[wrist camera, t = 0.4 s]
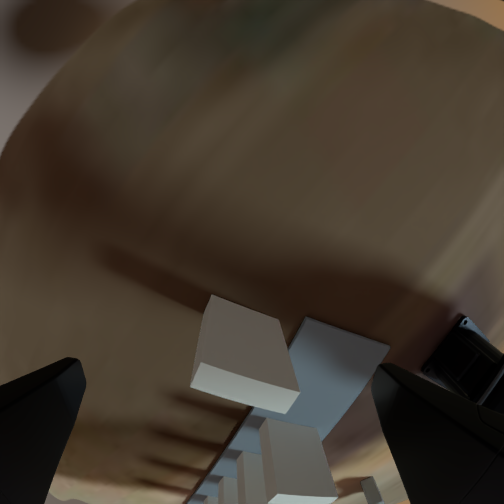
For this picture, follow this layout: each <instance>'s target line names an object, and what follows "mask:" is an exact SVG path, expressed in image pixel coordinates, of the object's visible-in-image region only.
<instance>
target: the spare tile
mask: <svg viewBox="0 0 504 504" xmlns="http://www.w3.org/2000/svg"><path fill="white" fill-rule="evenodd" d="M190 387H192V388H195V389H198V390H201V391H204V392H207V393H210V394H213V395H216V396H219V397H223V398H226V399H229V400H233V401H236V402H240V403H243V404H247V405H251V406H254V407H258V408H262V409H266V410H270V411H274V412H278V413H283V414H286V413H287V411H288V410H289V408H290V407H291V406H292V404H293V403H294V401H295V400H296V398H297V397H298V395H299V394H300V389H299V386H298V382H297V379H296V375H295V372H294V369H293V365H292V362H291V359H290V355H289V352H288V349H287V345H286V342H285V339H284V335H283V332H282V329H281V325H280V322H279V319H276V318H273V317H270V316H268V315H265V314H262V313H259V312H257V311H254V310H251V309H249V308H246V307H243V306H241V305H238V304H235V303H233V302H230V301H228V300H225V299H222V298H220V297H217V296H215V295H211V297H210V300H209V302H208V304H207V307H206V309H205V311H204V314H203V319H202V324H201V329H200V334H199V339H198V345H197V350H196V355H195V361H194V366H193V372H192V377H191V383H190Z"/></svg>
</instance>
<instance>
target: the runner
mask: <svg viewBox="0 0 504 504" xmlns="http://www.w3.org/2000/svg"><path fill="white" fill-rule="evenodd" d="M390 348H391V347H390V346H389V345H387V344H384V343H381V342H378V341H375V340H372V339H369V338H366V337H363V336H360V335H357V334H354V333H351V332H348V331H346V330H343V329H340V328H337V327H334V326H331V325H329V324H326V323H323V322H320V321H317V320H315V319H312V318H309V317H305V319H304V321H303V322H302V324H301V326H300V328H299V330H298V331H297V333H296V335H295V337H294V339H293V340H292V342H291V344H290V346H289V347H288V352H289V355H290V359H291V362H292V365H293V369H294V372H295V375H296V379H297V382H298V386H299V389H300V394H299V395H298V397H297V398H296V400H295V401H294V403H293V404H292V406H291V407H290V408H289V410H288V411H287V413H286V414H283V413H278V412H274V411H270V410H266V409H262V408H258V407H254V406H253V407H252V409H251V411H250V412H249V414H248V415H247V417H246V418H245V420H244V421H243V423H242V425H241V426H240V428H239V429H238V431H237V432H236V434H235V435H234V437H233V438H232V440H231V441H230V443H229V444H228V446H227V447H226V449H225V450H224V452H223V453H222V454H221V456H220V457H219V459H218V460H217V462H216V463H215V465H214V466H213V467H212V469H211V470H210V472H209V473H208V474H207V476H206V477H205V479H204V480H203V481H202V483H201V484H200V486H199V487H198V488H197V490H196V491H195V492H194V494H193V495H192V496H191V498H190V499H189V500H188V502H187V503H186V504H204V500H205V499H206V498H207V496H212V497H217V498H218V483H219V482H220V480H221V479H222V478H223V477H224V476H225V477H230V478H235V479H237V458H238V457H239V456H240V454H241V453H242V452H243V451H245V452H250V453H255V454H260V455H262V454H261V445H260V436H259V428H260V427H261V425H262V424H263V422H264V421H265V419H266V418H270V419H274V420H279V421H283V422H288V423H292V424H297V425H302V426H308V427H313V428H317V430H318V433H319V436H320V440H321V442H322V440H323V439H324V438H325V437H326V436H327V434H328V433H329V432H330V431H331V430H332V428H333V427H334V426H335V425H336V423H337V422H338V421H339V420H340V419H341V417H342V416H343V415H344V413H345V412H346V411H347V410H348V408H349V407H350V406H351V404H352V403H353V402H354V400H355V399H356V398H357V396H358V395H359V394H360V392H361V391H362V389H363V388H364V387H365V385H366V384H367V382H368V381H369V380H370V378H371V377H372V375H373V374H374V372H375V371H376V367H377V366H378V365H379V364H380V363H381V362H382V360H383V359H384V357H385V356H386V354H387V353H388V351H389V350H390Z"/></svg>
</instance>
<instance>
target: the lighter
mask: <svg viewBox="0 0 504 504" xmlns="http://www.w3.org/2000/svg"><path fill="white" fill-rule="evenodd" d="M360 483H361V486H362V489H363V491H364V494H365V497H366V499H367V502H368V504H385V503H384V501H383V498H382V496H381V494H380V491H379V489H378V487H377V484H376V482H375V480H374V478H373V476H372V477H369V478H367V479H365V480H363V481H361V482H360Z"/></svg>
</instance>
